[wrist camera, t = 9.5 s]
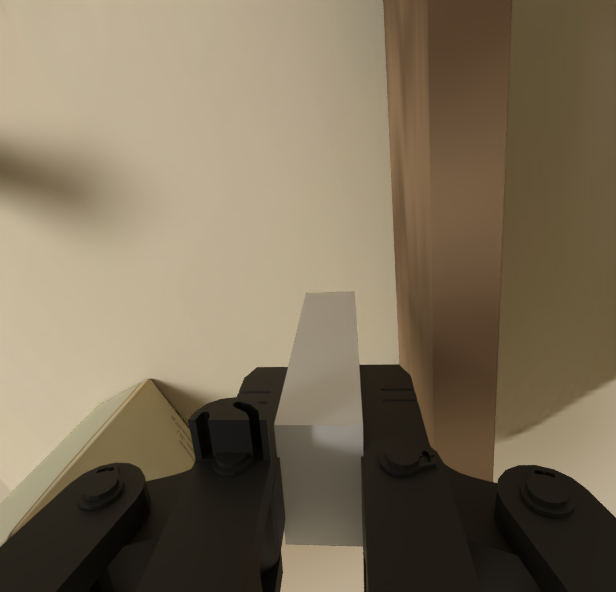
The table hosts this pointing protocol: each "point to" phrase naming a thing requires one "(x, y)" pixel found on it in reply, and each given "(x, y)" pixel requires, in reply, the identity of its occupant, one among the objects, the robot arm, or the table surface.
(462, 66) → the gate
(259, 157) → the table surface
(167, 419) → the skincare box
